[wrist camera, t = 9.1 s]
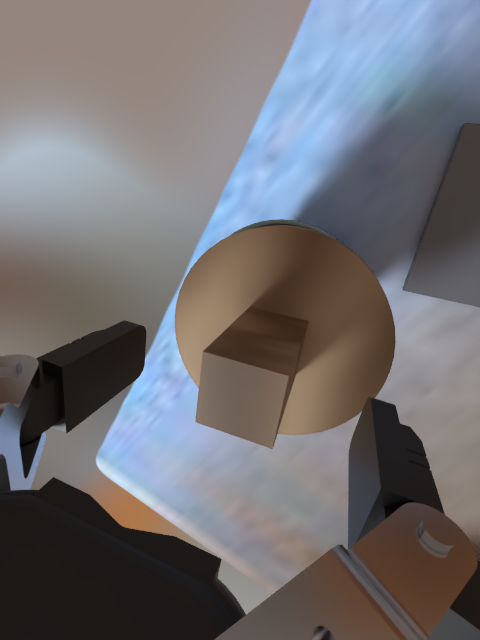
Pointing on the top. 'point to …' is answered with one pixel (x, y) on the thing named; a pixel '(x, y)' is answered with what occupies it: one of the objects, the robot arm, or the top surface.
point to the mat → (453, 230)
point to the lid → (283, 333)
